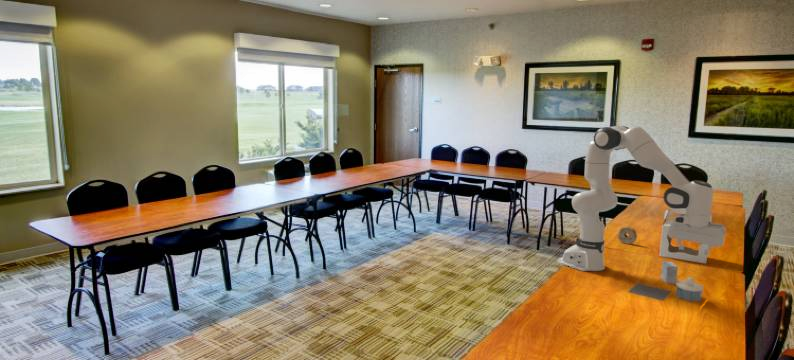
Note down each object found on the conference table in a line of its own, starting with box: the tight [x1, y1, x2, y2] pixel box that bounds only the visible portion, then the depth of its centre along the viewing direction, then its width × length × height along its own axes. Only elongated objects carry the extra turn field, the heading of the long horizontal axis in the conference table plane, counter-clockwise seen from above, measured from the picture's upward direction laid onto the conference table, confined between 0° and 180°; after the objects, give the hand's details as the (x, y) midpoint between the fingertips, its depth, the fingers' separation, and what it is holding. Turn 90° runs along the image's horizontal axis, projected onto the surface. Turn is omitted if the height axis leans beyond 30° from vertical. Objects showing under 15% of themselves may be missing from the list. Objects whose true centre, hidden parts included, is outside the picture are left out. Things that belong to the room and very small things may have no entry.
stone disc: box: [617, 226, 638, 245], centre depth 298 cm, size 10×4×10 cm, turn 41°
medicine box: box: [660, 261, 679, 285], centre depth 235 cm, size 8×4×9 cm, turn 168°
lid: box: [675, 276, 704, 292], centre depth 215 cm, size 10×10×4 cm
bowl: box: [675, 286, 703, 302], centre depth 216 cm, size 9×9×5 cm
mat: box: [627, 283, 672, 301], centre depth 222 cm, size 14×14×1 cm
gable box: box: [659, 208, 713, 264], centre depth 272 cm, size 22×13×28 cm, turn 57°
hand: (693, 252), depth 213 cm, fingers open, 8 cm apart
